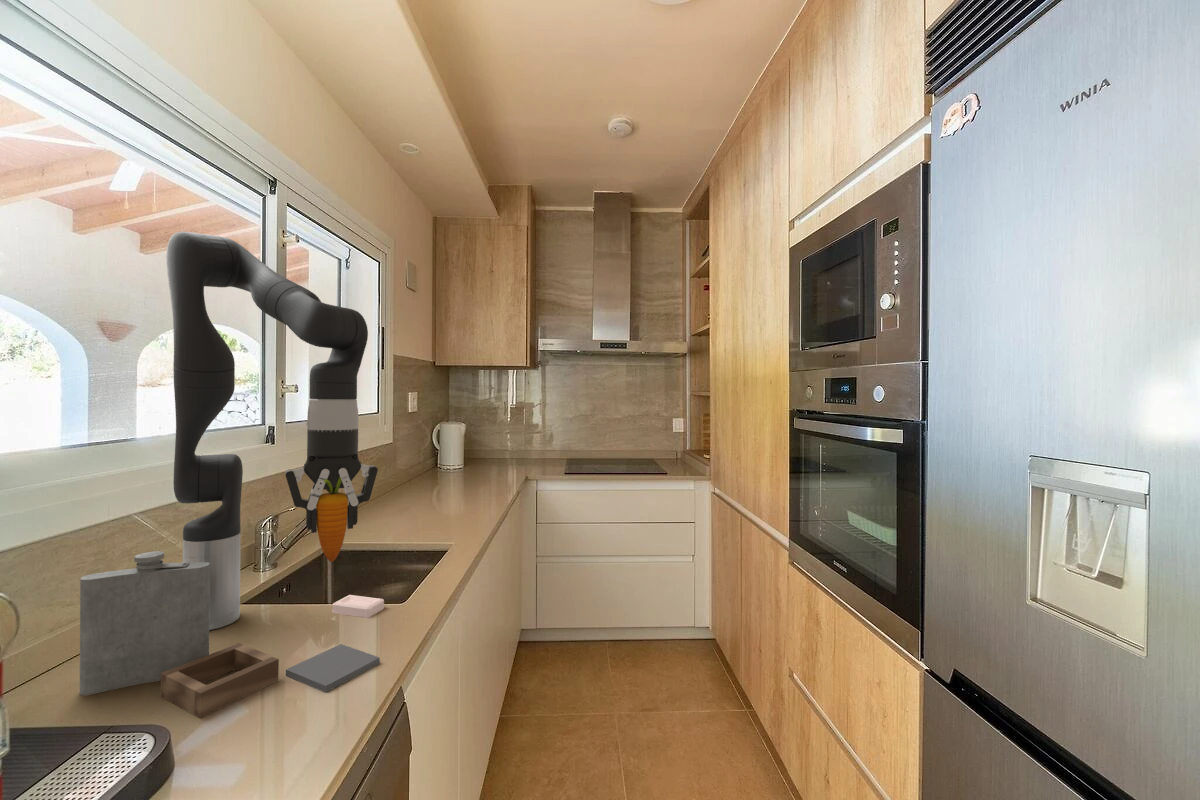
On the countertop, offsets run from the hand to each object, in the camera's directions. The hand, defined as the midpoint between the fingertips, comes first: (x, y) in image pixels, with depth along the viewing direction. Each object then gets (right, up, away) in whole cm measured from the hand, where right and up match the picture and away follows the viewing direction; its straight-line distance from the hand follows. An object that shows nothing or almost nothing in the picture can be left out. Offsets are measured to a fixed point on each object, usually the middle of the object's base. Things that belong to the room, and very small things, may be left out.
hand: (332, 529), depth 87 cm
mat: (0, -23, +1) cm, 23 cm away
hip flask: (-28, -23, -3) cm, 36 cm away
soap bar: (-7, -24, +24) cm, 35 cm away
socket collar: (-14, -23, -5) cm, 28 cm away
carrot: (0, -6, 0) cm, 6 cm away
